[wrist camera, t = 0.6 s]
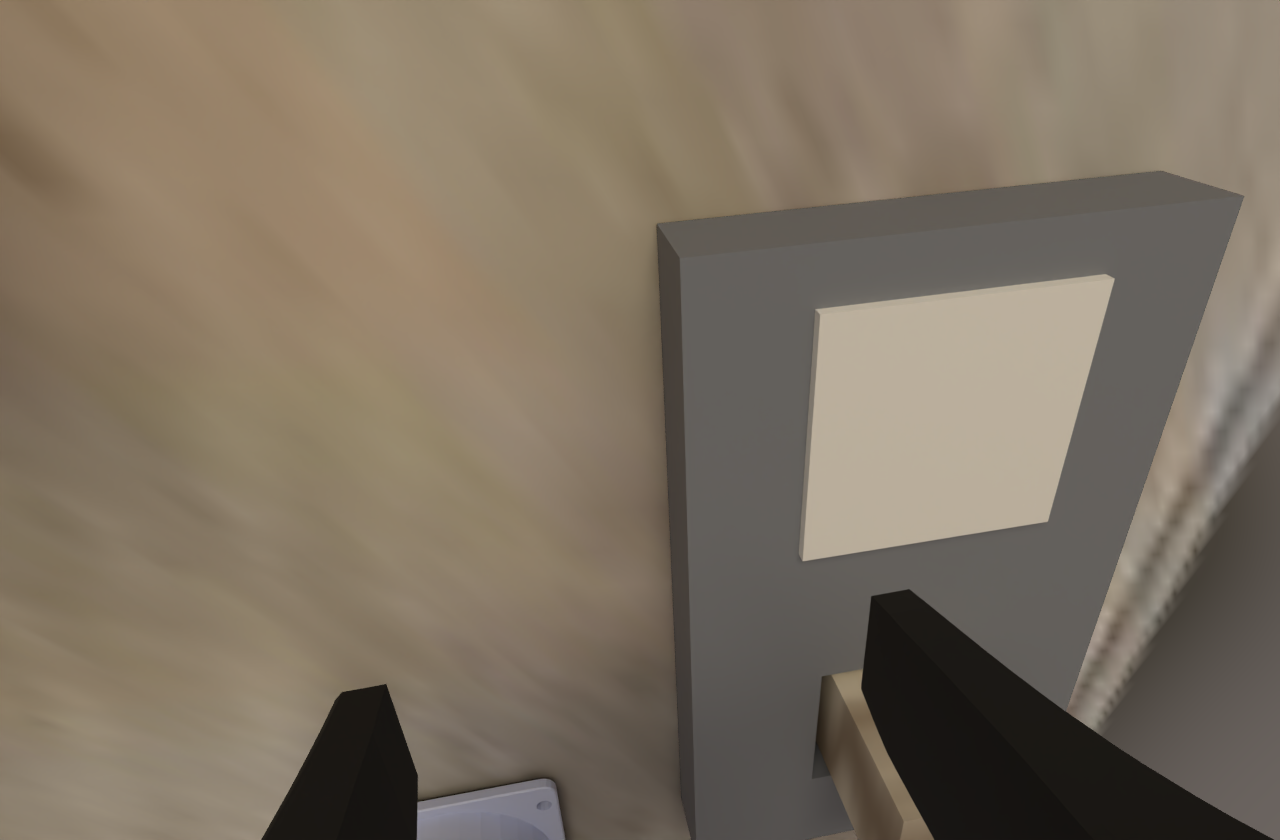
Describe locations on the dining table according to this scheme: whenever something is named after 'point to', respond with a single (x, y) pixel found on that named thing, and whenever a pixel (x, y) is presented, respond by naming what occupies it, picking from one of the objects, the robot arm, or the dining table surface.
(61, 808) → the dining table surface
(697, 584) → the pocket plate
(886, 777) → the peg
